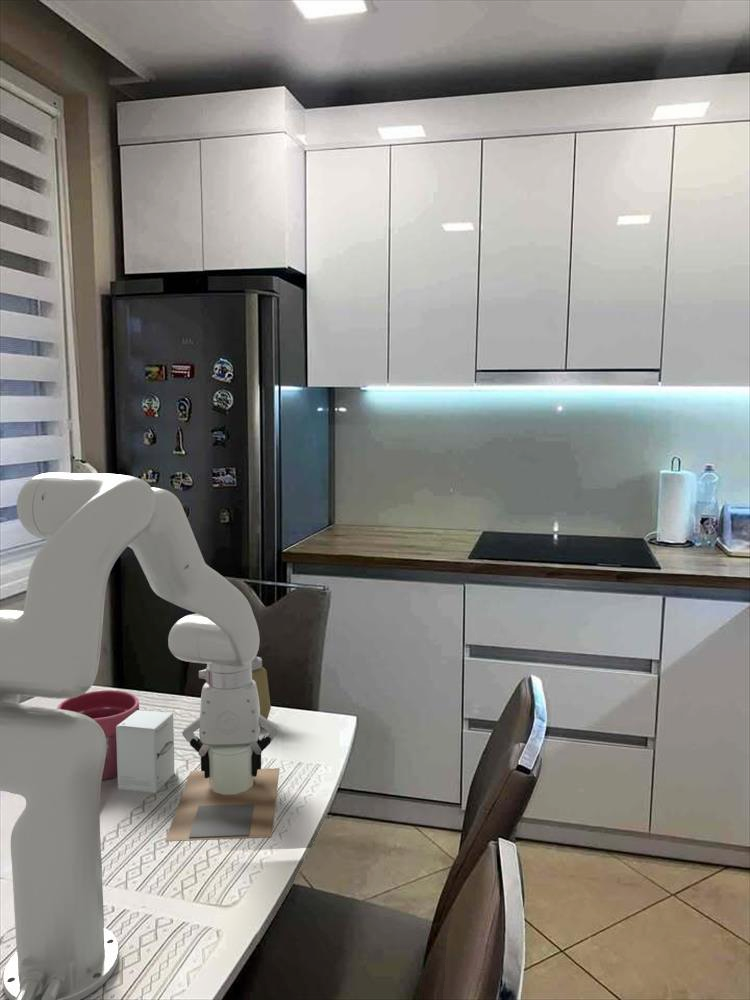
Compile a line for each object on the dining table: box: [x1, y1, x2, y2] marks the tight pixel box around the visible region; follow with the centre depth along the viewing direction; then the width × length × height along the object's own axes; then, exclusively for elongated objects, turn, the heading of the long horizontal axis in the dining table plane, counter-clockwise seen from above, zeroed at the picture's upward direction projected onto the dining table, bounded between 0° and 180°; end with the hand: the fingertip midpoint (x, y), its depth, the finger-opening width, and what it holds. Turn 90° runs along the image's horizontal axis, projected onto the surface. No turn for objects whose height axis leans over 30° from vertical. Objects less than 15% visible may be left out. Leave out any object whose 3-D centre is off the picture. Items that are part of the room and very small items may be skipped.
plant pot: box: [56, 689, 140, 782], centre depth 135 cm, size 14×14×13 cm
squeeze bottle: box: [252, 655, 272, 729], centre depth 155 cm, size 8×8×18 cm
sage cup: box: [208, 744, 254, 795], centre depth 128 cm, size 8×8×8 cm
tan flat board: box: [165, 767, 280, 842], centre depth 123 cm, size 22×16×1 cm
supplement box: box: [116, 709, 175, 794], centre depth 129 cm, size 7×7×13 cm
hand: (231, 773), depth 128 cm, fingers closed on sage cup, 7 cm apart
